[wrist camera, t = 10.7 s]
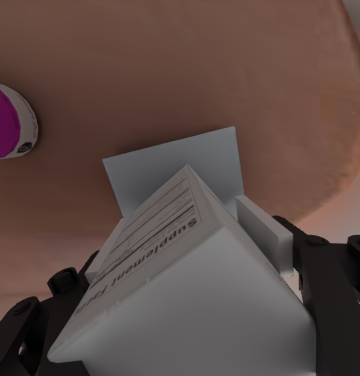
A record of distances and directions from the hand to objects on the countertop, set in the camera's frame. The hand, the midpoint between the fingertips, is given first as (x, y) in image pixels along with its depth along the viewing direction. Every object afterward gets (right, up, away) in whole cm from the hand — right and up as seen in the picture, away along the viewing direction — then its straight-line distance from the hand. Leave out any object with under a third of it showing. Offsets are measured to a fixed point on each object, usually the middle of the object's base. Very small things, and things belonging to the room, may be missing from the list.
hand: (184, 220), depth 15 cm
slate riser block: (0, +2, +9) cm, 9 cm away
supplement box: (0, +1, +2) cm, 2 cm away
